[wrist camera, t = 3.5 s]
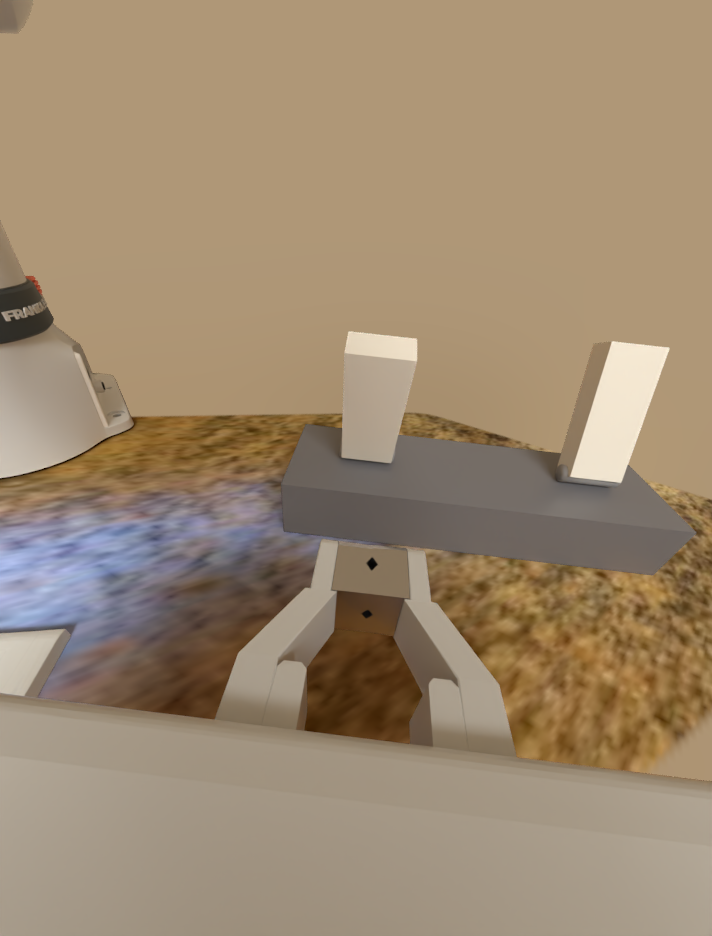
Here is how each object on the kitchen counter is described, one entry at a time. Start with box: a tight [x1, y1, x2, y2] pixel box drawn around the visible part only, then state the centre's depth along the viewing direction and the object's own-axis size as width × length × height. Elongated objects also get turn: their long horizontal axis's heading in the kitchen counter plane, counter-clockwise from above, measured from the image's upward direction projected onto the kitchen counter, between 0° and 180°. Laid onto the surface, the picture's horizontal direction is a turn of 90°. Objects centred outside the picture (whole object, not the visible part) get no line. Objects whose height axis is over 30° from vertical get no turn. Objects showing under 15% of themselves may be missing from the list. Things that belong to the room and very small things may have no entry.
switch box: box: [281, 424, 696, 575], centre depth 29 cm, size 9×30×5 cm, turn 85°
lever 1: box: [339, 331, 417, 463], centre depth 23 cm, size 2×4×11 cm, turn 85°
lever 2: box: [555, 341, 669, 488], centre depth 25 cm, size 2×4×11 cm, turn 86°
